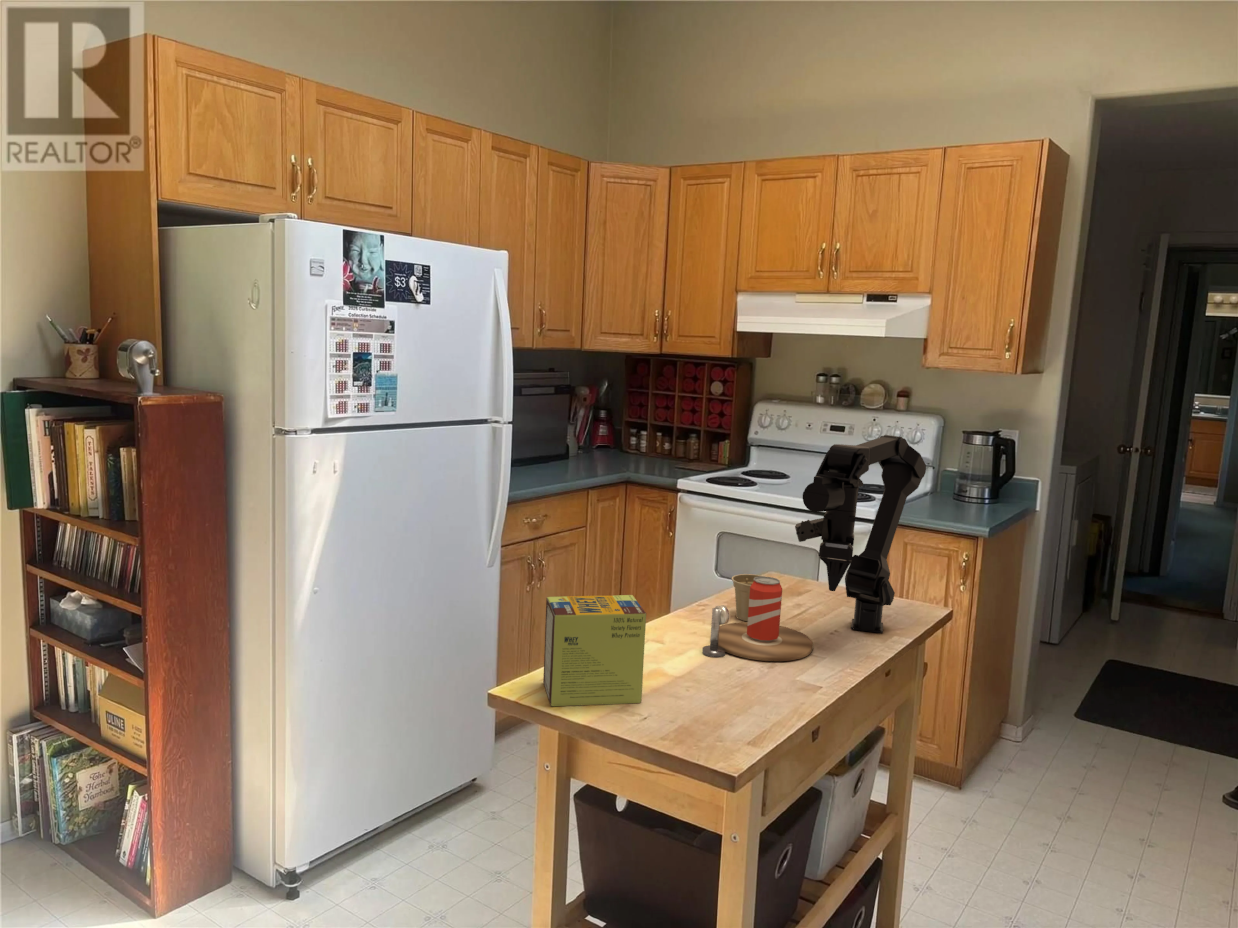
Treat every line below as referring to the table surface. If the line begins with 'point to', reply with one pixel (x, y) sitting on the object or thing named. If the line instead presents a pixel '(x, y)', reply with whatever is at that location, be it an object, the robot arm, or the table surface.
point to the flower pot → (743, 593)
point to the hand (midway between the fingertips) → (832, 585)
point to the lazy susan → (764, 644)
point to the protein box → (594, 650)
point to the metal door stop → (716, 632)
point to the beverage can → (764, 609)
